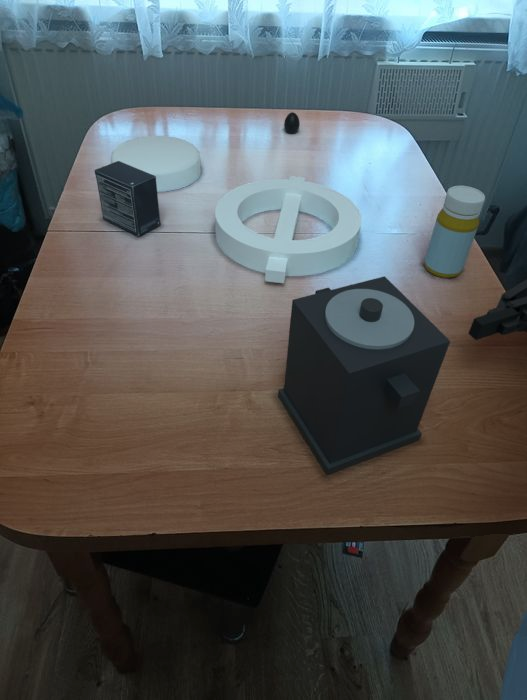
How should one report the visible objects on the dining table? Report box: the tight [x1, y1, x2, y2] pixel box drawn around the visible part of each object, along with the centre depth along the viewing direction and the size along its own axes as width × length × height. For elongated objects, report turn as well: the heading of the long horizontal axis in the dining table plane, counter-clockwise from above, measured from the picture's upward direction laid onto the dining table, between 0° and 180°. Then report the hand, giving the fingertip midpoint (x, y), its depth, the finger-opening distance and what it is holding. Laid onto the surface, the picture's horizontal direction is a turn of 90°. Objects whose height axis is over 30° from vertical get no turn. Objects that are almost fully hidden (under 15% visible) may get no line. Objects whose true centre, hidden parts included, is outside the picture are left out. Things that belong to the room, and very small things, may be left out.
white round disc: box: [110, 135, 202, 193], centre depth 123 cm, size 20×20×5 cm
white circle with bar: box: [214, 175, 362, 284], centre depth 105 cm, size 28×28×5 cm
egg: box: [283, 111, 301, 135], centre depth 143 cm, size 4×4×5 cm
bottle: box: [423, 185, 486, 279], centre depth 95 cm, size 7×7×15 cm
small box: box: [94, 161, 162, 237], centre depth 104 cm, size 11×6×10 cm, turn 53°
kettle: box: [277, 276, 451, 476], centre depth 67 cm, size 20×15×20 cm
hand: (475, 329), depth 72 cm, fingers closed
